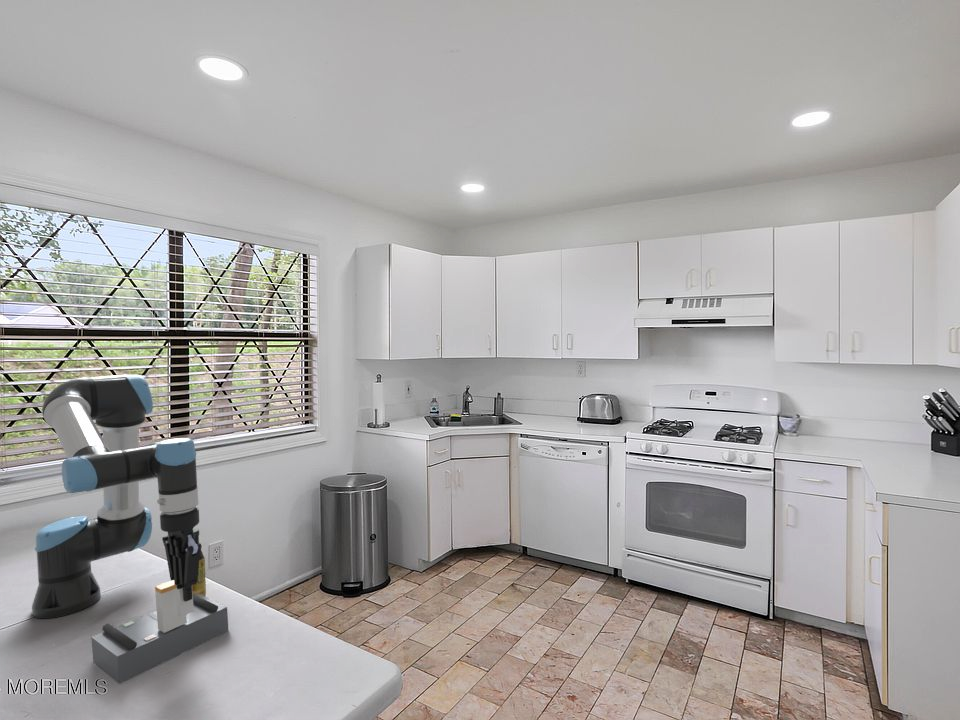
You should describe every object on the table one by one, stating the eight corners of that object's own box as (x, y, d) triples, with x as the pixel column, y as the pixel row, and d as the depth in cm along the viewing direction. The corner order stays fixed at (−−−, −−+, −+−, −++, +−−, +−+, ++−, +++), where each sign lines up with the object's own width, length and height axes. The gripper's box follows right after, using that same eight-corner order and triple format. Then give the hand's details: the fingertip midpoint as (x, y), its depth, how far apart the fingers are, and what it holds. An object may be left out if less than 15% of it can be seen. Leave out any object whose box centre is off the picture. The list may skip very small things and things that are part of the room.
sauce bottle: (195, 608, 144) (190, 536, 143) (175, 606, 145) (170, 535, 144) (212, 596, 150) (207, 527, 149) (193, 595, 151) (188, 526, 150)
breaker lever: (157, 629, 122) (155, 586, 121) (180, 619, 126) (177, 577, 125) (164, 633, 120) (161, 589, 119) (186, 622, 124) (184, 580, 123)
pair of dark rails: (102, 632, 122) (102, 625, 122) (189, 596, 138) (189, 590, 138) (128, 651, 114) (128, 643, 114) (218, 610, 130) (218, 604, 129)
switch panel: (93, 662, 120) (91, 636, 120) (199, 615, 140) (198, 592, 139) (119, 684, 112) (117, 655, 112) (228, 630, 132) (227, 606, 131)
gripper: (147, 509, 118) (154, 612, 119) (176, 519, 111) (182, 629, 112) (182, 500, 124) (188, 598, 125) (211, 509, 117) (217, 613, 118)
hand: (185, 613), depth 118 cm, fingers closed
